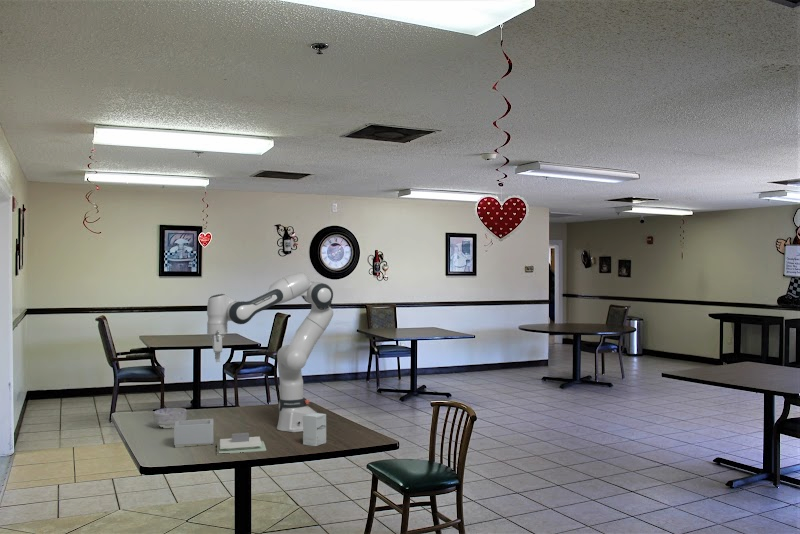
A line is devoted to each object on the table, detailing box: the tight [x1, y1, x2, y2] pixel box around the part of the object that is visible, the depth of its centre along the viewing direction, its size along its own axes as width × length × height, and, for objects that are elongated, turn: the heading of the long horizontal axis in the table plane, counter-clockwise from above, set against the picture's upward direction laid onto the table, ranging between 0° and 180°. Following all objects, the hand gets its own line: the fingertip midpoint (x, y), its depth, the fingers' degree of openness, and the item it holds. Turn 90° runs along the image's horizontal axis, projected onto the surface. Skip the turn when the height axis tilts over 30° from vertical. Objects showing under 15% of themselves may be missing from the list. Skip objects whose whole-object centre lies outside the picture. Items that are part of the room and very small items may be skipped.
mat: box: [217, 440, 267, 454], centre depth 291 cm, size 20×16×1 cm
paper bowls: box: [153, 407, 188, 426], centre depth 334 cm, size 15×15×8 cm
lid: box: [219, 432, 262, 450], centre depth 291 cm, size 17×13×5 cm
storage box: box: [173, 418, 215, 445], centre depth 300 cm, size 16×12×9 cm
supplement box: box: [302, 412, 327, 447], centre depth 297 cm, size 7×7×13 cm
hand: (217, 360), depth 312 cm, fingers open, 8 cm apart
